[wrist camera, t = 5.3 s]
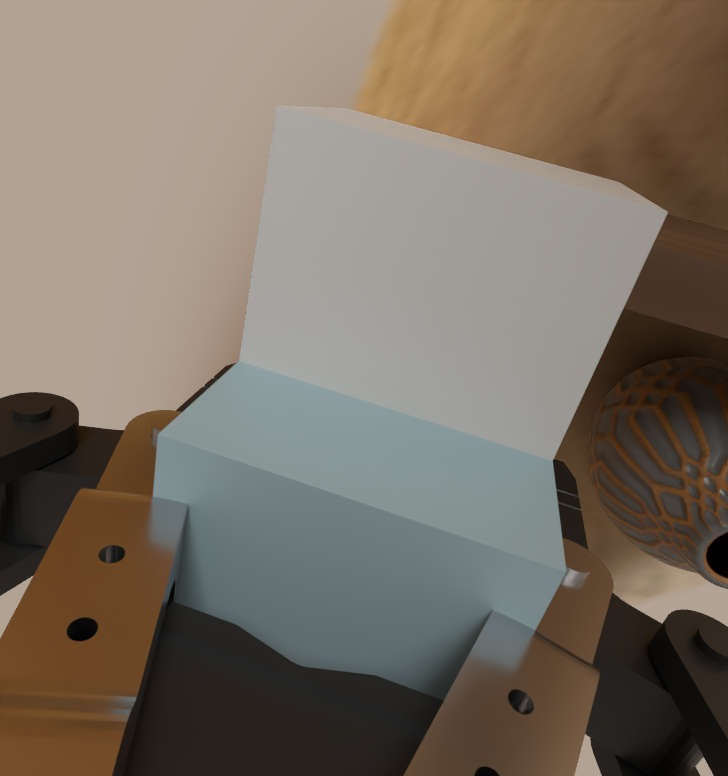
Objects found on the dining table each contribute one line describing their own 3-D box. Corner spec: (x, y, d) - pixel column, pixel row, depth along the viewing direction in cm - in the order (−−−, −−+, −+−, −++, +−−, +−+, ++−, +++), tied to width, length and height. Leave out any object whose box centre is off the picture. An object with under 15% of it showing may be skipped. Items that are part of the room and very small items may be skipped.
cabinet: (376, 109, 12) (185, 100, 5) (598, 169, 12) (737, 253, 5) (297, 468, 16) (132, 742, 9) (458, 522, 16) (416, 853, 9)
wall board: (444, 153, 22) (408, 175, 14) (924, 285, 20) (1170, 390, 13) (432, 197, 22) (392, 240, 15) (894, 327, 21) (1110, 450, 13)
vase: (544, 397, 25) (560, 526, 17) (704, 297, 22) (809, 400, 14) (639, 510, 26) (693, 680, 18) (802, 431, 23) (948, 593, 15)
